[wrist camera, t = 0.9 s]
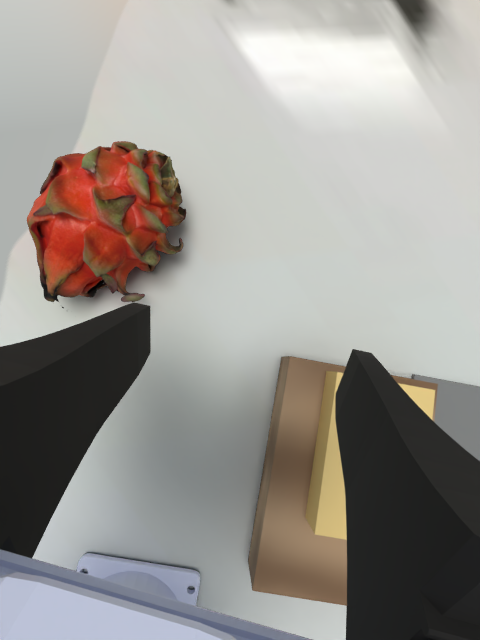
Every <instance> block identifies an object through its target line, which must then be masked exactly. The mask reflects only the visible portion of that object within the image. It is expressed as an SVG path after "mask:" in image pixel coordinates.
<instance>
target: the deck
mask: <svg viewBox="0 0 480 640" xmlns="http://www.w3.org/2000/svg"><path fill="white" fill-rule="evenodd" d="M345 368H346V367H345V366H339V365H334V364H328V363H323V362H318V361H312V360H307V359H302V358H296V357H291V356H288V357H281V363H280V369H279V375H278V381H277V387H276V393H275V400H274V406H273V412H272V418H271V424H270V430H269V436H268V442H267V448H266V454H265V461H264V467H263V473H262V479H261V485H260V491H259V497H258V503H257V509H256V515H255V522H254V528H253V534H252V540H251V546H250V552H249V558H248V562H249V569H250V576H251V583H252V590H253V591H258V592H264V593H271V594H277V595H283V596H290V597H296V598H302V599H308V600H315V601H321V602H327V603H334V604H340V605H346V606H347V540H345V539H339V538H333V537H327V536H321V535H315V534H314V532H313V530H312V529H311V527H310V525H309V523H308V521H307V519H306V518H305V516H306V509H307V502H308V495H309V488H310V481H311V475H312V468H313V461H314V454H315V447H316V440H317V433H318V426H319V419H320V412H321V405H322V398H323V391H324V385H325V378H326V371H332V372H340V373H344V371H345ZM391 376H392V377H393V379H394V380H395V381H396V382H397V383H400V384H405V385H410V386H416V387H421V388H427V389H432V390H435V398H434V408H433V418H432V420H433V421H434V420H435V409H436V399H437V389H438V384H436V383H431V382H425V381H420V380H414V379H409V378H404V377H398V376H393V375H391Z"/></svg>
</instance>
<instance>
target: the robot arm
mask: <svg viewBox="0 0 480 640" xmlns="http://www.w3.org/2000/svg"><path fill="white" fill-rule="evenodd" d="M149 354H150V306H147V305H142V304H138V303H131V304H128V305H125V306H123V307H120V308H118V309H115V310H113V311H110V312H108V313H105V314H103V315H100V316H98V317H95V318H93V319H90V320H88V321H85V322H83V323H80V324H77V325H74V326H71V327H69V328H66V329H63V330H60V331H57V332H55V333H52V334H48V335H45V336H42V337H39V338H35V339H31V340H28V341H24V342H20V343H16V344H12V345H7V346H2V347H0V640H312V639H308V638H305V637H301V636H298V635H294V634H291V633H287V632H284V631H280V630H277V629H274V628H270V627H267V626H263V625H260V624H256V623H253V622H249V621H246V620H242V619H239V618H236V617H232V616H229V615H225V614H222V613H218V612H215V611H211V610H208V609H204V608H201V607H198V606H196V602H197V596H198V591H199V585H200V574H199V572H198V571H196V570H191V569H185V568H179V567H173V566H166V565H160V564H154V563H148V562H141V561H135V560H129V559H123V558H116V557H110V556H104V555H98V554H91V553H86V554H84V555H83V556H82V557H81V558H80V560H79V562H78V566H77V570H76V571H73V570H70V569H66V568H63V567H59V566H56V565H53V564H49V563H46V562H42V561H39V560H35V559H32V557H33V555H34V553H35V551H36V549H37V547H38V545H39V542H40V540H41V538H42V536H43V534H44V532H45V530H46V528H47V526H48V524H49V521H50V519H51V517H52V516H53V514H54V512H55V510H56V508H57V506H58V504H59V502H60V500H61V498H62V496H63V494H64V492H65V490H66V488H67V486H68V484H69V482H70V481H71V479H72V477H73V475H74V473H75V471H76V470H77V468H78V466H79V464H80V462H81V460H82V459H83V457H84V455H85V453H86V452H87V450H88V448H89V446H90V445H91V443H92V441H93V439H94V438H95V436H96V434H97V433H98V431H99V430H100V428H101V427H102V425H103V424H104V422H105V421H106V419H107V418H108V417H109V415H110V414H111V413H112V411H113V410H114V408H115V407H116V406H117V404H118V403H119V402H120V400H121V399H122V397H123V396H124V395H125V393H126V392H127V390H128V389H129V388H130V386H131V385H132V383H133V382H134V381H135V379H136V378H137V376H138V375H139V373H140V371H141V370H142V368H143V366H144V364H145V362H146V360H147V358H148V356H149ZM335 420H336V428H337V436H338V443H339V450H340V457H341V464H342V471H343V478H344V487H345V499H346V528H347V618H346V640H480V461H479V460H478V459H476V458H475V457H474V456H472V455H471V454H470V453H469V452H468V451H466V450H465V449H464V448H463V447H462V446H460V445H459V444H458V443H457V442H456V441H455V440H454V439H452V438H451V437H450V436H449V435H448V434H447V433H446V432H444V431H443V430H442V429H441V428H440V427H439V426H438V425H437V424H436V423H435V422H434V421H433V420H432V419H431V418H430V417H429V416H428V415H427V414H426V413H425V412H424V411H423V410H422V409H421V408H420V407H419V406H418V405H417V404H416V403H415V402H414V401H413V400H412V399H411V398H410V397H409V395H408V394H407V393H406V392H405V391H404V390H403V389H402V388H401V387H400V385H399V384H398V383H397V382H396V381H395V380H394V379H393V377H392V376H391V375H390V374H389V373H388V371H387V370H386V369H385V368H384V367H383V366H382V364H381V363H380V362H379V361H378V360H377V359H376V358H375V356H374V355H373V354H372V353H369V352H364V351H359V350H354V349H353V350H352V353H351V355H350V358H349V360H348V363H347V366H346V368H345V371H344V373H343V376H342V378H341V381H340V384H339V386H338V389H337V391H336V396H335ZM82 569H87V571H88V573H83V571H82ZM191 585H192V586H194V588H195V589H193V590H189V589H188V587H189V586H191Z"/></svg>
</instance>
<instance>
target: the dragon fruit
mask: <svg viewBox="0 0 480 640" xmlns="http://www.w3.org/2000/svg"><path fill="white" fill-rule="evenodd" d="M171 161H172V160H171V159H170V157H167V156H166V155H165V154H162V153H160V152H157V151H153V150H149V151H147V150H144V149H138V148H137V146H136V145H135V144H133V143H131V142H126V141H124V142H123V141H121V142H119V141H118V142H114V143H113V144H112V147H111V148H109V147H101V146H99V147H97V148H96V149H94V150H92V151H90V152H88V153H87V154H80V153H76V154H69V155H65V156H62V157H58V158H57V159H56V160H55V161H54V163H53V166H52V169H51V171H50V173H49V175H48V177H47V179H46V180H45V182H44V183H43V185H42V187H41V191H40V194H41V196H39V197H38V198H37V199H36V200H35V202H34V205H33V207H32V209H31V211H30V213H29V215H28V217H27V223H28V227H29V231H30V233H31V236H32V238H33V241H34V243H35V246H36V250H37V254H36V255H37V262H38V266H39V269H40V281H41V285H42V287H43V289H44V298H45V299H46V300H48V301H51V302H54V301H55V300H56V301H58V299H57V295H60V296H63V297H75V296H78V295H81V296H86V297H93V296H94V295H95V293H96V291H97V289H100V288H102V287H105V286H108V287H109V289H110V290H111V292H112V293H114V292H115V291H116V290H117V291H118V292H120V293H122V294H123V295H125V296H123V297H122V298H121V301H123V302H130V301H132V302H134V301H138V300H140V299H142V298H143V297H144V296H145V294H138V293H128V292H127V291H126V281H127V276H128V274H129V273H130V271H131V270H132V269H133V268H134V267H135V266H137V267H139V268H140V270H143V271H153V270H154V268H155V266H156V265H157V264H158V263H159V261H160V255H159V254H158V252H157V250H158V251H162V252H164V253H166V254H175V253H177V252H180V251H181V250H182V248H183V242H182V239H181V238H180V239H179V243H180V245H179V246H172V245H171V244H170V243H169V242H168V240H167V239H166V233H168V231H167V227H168V226H177V225H179V224H180V223H181V222H182V221H183V220H184V219H185V217H186V209H182V208H181V207H179V205H180V204H181V203H182V197H181V195H180V194H181V189H180V186H179V183H178V179H177V178H176V177H175V172H174V170H173V168H172V162H171ZM102 279H103V280H102ZM101 280H102V281H101ZM104 281H105V283H104ZM103 283H104V284H103ZM58 302H59V301H58ZM62 308H64V307H63V306H62Z"/></svg>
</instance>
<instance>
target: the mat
mask: <svg viewBox="0 0 480 640" xmlns="http://www.w3.org/2000/svg"><path fill="white" fill-rule="evenodd" d="M412 379H414V380H420V381H425V382H431V383H436V384H438V389H437V399H436V409H435V420H434V422H435V423H436V424H437V425H438V426H439V427H440V428H441V429H442V430H443V431H444V432H446V433H447V434H448V435H449V436H450V437H451V438H452V439H454V440H455V441H456V442H457V443H458V444H459V445H460V446H462V447H463V448H464V449H465V450H466V451H468V452H469V453H470V454H471V455H472V456H474V457H475V458H476V459H478V460H479V461H480V387H478V386H473V385H467V384H462V383H457V382H451V381H446V380H441V379H435V378H430V377H425V376H419V375H413V374H412Z"/></svg>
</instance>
